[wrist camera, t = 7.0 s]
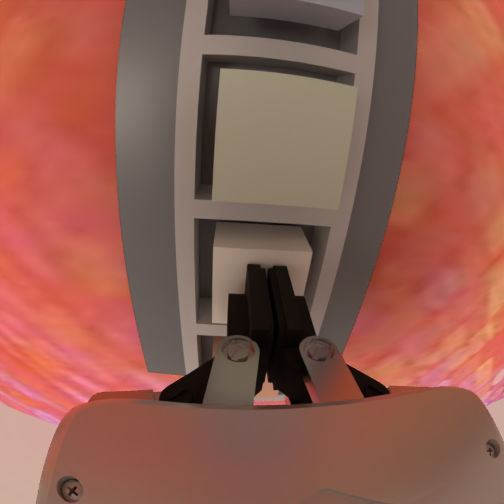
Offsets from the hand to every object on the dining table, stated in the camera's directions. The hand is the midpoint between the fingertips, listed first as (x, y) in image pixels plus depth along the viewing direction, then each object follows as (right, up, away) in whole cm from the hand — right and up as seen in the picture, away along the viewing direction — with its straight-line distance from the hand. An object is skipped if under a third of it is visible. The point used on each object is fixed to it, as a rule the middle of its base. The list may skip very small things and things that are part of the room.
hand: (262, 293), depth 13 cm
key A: (0, +6, -3) cm, 7 cm away
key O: (0, +1, +2) cm, 3 cm away
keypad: (0, +5, +2) cm, 5 cm away
